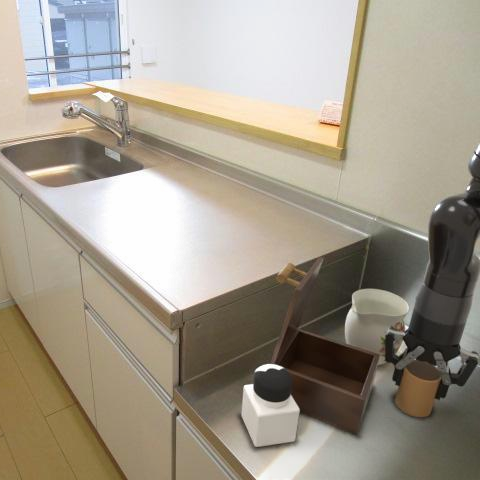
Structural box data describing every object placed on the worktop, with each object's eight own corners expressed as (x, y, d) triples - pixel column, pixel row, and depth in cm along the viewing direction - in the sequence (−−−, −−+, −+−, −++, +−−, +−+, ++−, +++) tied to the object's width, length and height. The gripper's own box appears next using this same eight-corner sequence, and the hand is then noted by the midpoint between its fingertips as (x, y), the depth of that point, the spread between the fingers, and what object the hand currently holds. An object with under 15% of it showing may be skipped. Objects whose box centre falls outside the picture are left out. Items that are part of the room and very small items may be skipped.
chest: (372, 387, 86) (380, 354, 83) (356, 435, 76) (364, 400, 72) (292, 358, 94) (296, 327, 91) (268, 399, 84) (271, 365, 80)
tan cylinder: (426, 422, 78) (437, 386, 75) (390, 406, 82) (400, 371, 78) (434, 403, 82) (445, 368, 79) (400, 389, 85) (409, 354, 82)
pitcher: (421, 352, 95) (436, 296, 89) (367, 385, 86) (380, 325, 81) (374, 327, 104) (386, 274, 98) (321, 354, 95) (330, 298, 89)
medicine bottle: (296, 442, 75) (304, 386, 70) (254, 448, 74) (260, 391, 69) (278, 410, 81) (285, 356, 76) (240, 415, 80) (244, 361, 75)
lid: (323, 258, 82) (296, 247, 84) (300, 290, 72) (270, 277, 74) (298, 326, 90) (274, 315, 93) (274, 365, 80) (247, 351, 82)
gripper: (388, 307, 74) (370, 387, 81) (494, 336, 67) (463, 420, 74) (395, 288, 80) (377, 363, 87) (493, 312, 73) (465, 392, 79)
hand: (417, 389), depth 80 cm, fingers closed on tan cylinder, 5 cm apart
